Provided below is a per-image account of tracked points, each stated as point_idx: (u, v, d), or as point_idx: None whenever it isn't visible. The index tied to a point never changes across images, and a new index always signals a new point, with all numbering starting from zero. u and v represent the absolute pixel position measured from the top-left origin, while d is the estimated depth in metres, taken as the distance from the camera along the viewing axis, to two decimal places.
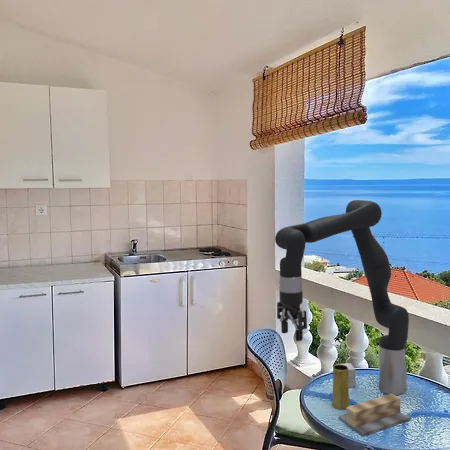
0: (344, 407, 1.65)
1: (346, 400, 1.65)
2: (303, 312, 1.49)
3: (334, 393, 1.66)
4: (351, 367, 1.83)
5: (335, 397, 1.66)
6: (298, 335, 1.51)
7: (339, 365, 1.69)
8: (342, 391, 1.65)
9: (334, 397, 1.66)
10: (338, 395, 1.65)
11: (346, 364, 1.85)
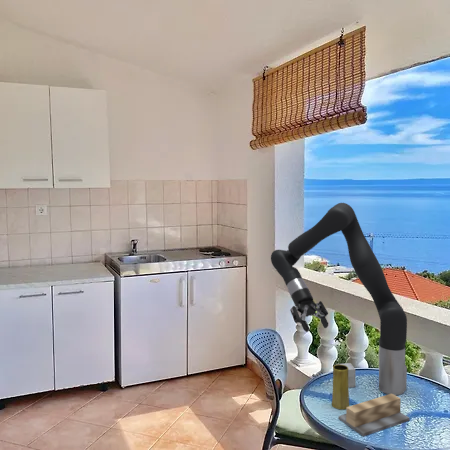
0: (344, 407, 1.65)
1: (346, 400, 1.65)
2: (291, 308, 1.78)
3: (334, 393, 1.66)
4: (351, 367, 1.83)
5: (335, 397, 1.66)
6: None
7: (339, 365, 1.69)
8: (342, 391, 1.65)
9: (334, 397, 1.66)
10: (338, 395, 1.65)
11: (346, 364, 1.85)
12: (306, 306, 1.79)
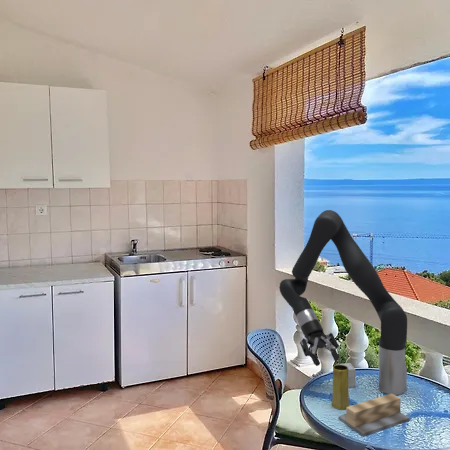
0: (344, 407, 1.65)
1: (346, 400, 1.65)
2: (301, 341, 1.74)
3: (334, 393, 1.66)
4: (351, 367, 1.83)
5: (335, 397, 1.66)
6: None
7: (339, 365, 1.69)
8: (342, 391, 1.65)
9: (334, 397, 1.66)
10: (338, 395, 1.65)
11: (346, 364, 1.85)
12: (316, 339, 1.75)
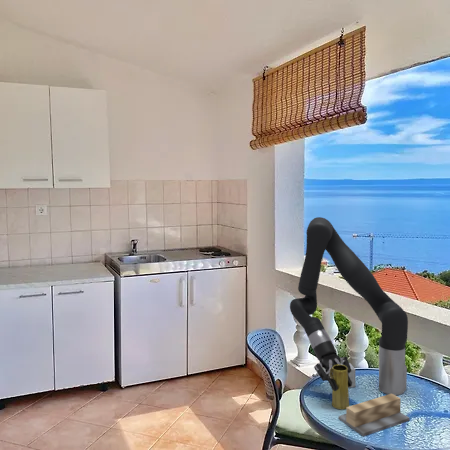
0: (344, 407, 1.65)
1: (346, 400, 1.65)
2: (315, 366, 1.68)
3: (334, 393, 1.66)
4: (351, 367, 1.83)
5: (335, 397, 1.66)
6: None
7: (338, 365, 1.68)
8: (341, 391, 1.64)
9: (334, 397, 1.66)
10: (338, 396, 1.65)
11: None
12: (330, 361, 1.69)
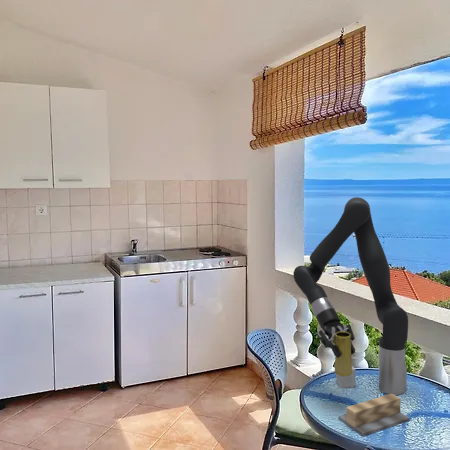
0: (347, 374, 1.62)
1: (349, 367, 1.63)
2: (318, 333, 1.65)
3: (337, 360, 1.64)
4: None
5: (338, 364, 1.63)
6: None
7: (341, 332, 1.66)
8: (344, 358, 1.62)
9: (337, 364, 1.64)
10: (341, 362, 1.62)
11: None
12: (333, 328, 1.66)
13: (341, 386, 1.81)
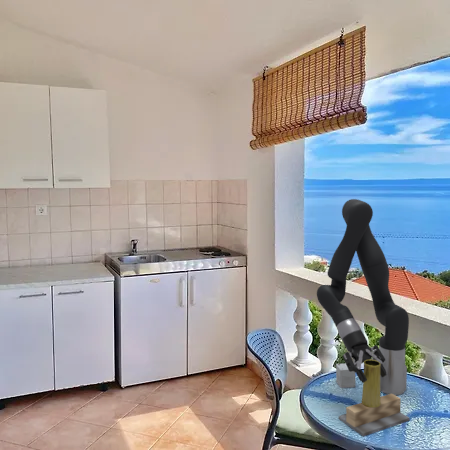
0: (375, 405, 1.54)
1: (377, 398, 1.54)
2: (344, 354, 1.57)
3: (365, 390, 1.55)
4: None
5: (366, 394, 1.55)
6: None
7: (370, 360, 1.57)
8: (373, 388, 1.53)
9: (364, 394, 1.55)
10: (370, 393, 1.54)
11: None
12: (361, 352, 1.57)
13: (341, 386, 1.81)
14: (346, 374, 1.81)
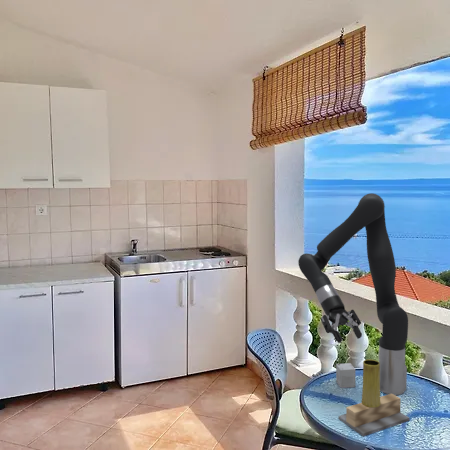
0: (375, 405, 1.54)
1: (377, 398, 1.54)
2: (322, 317, 1.67)
3: (364, 390, 1.55)
4: (351, 367, 1.83)
5: (366, 394, 1.55)
6: None
7: (369, 360, 1.58)
8: (373, 388, 1.53)
9: (364, 394, 1.55)
10: (369, 392, 1.54)
11: (346, 364, 1.85)
12: (338, 315, 1.67)
13: (341, 386, 1.81)
14: (346, 374, 1.80)
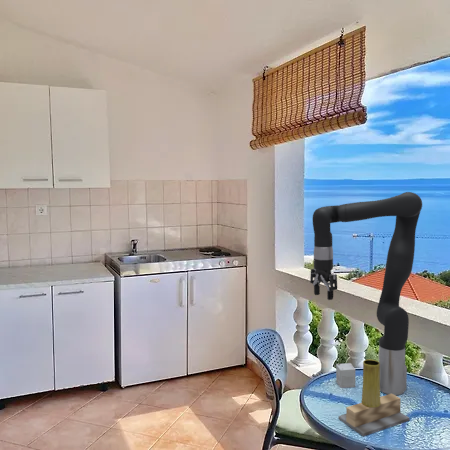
0: (375, 405, 1.54)
1: (377, 398, 1.54)
2: (334, 275, 1.81)
3: (364, 390, 1.55)
4: (351, 367, 1.83)
5: (366, 394, 1.55)
6: (330, 295, 1.83)
7: (369, 360, 1.58)
8: (373, 388, 1.53)
9: (364, 394, 1.55)
10: (369, 392, 1.54)
11: (346, 364, 1.85)
12: None
13: (341, 386, 1.81)
14: (346, 374, 1.80)
